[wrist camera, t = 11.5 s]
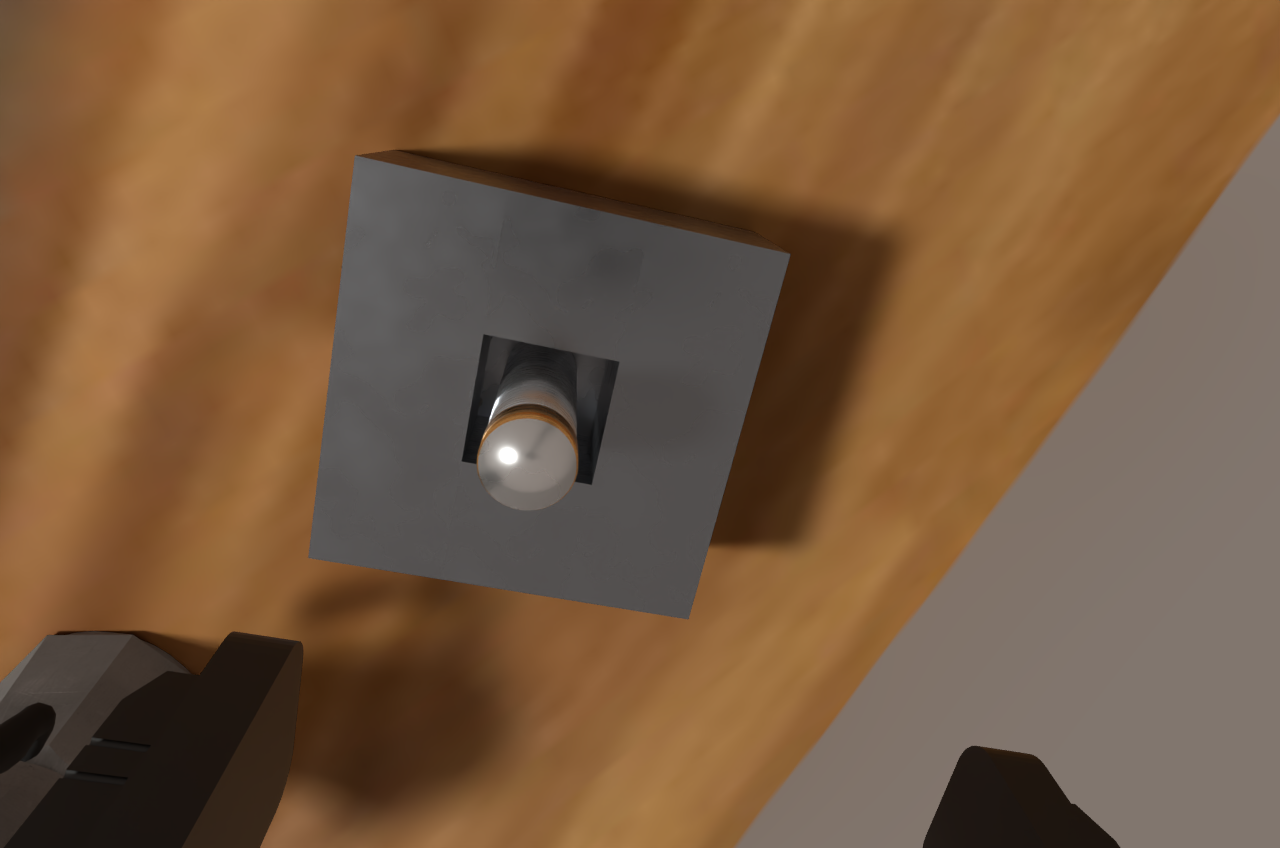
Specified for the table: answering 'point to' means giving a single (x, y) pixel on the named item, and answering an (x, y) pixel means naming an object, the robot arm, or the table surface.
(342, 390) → the bore block
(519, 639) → the table surface
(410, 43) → the table surface
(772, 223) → the table surface
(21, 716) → the coffeepot
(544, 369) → the cylinder
